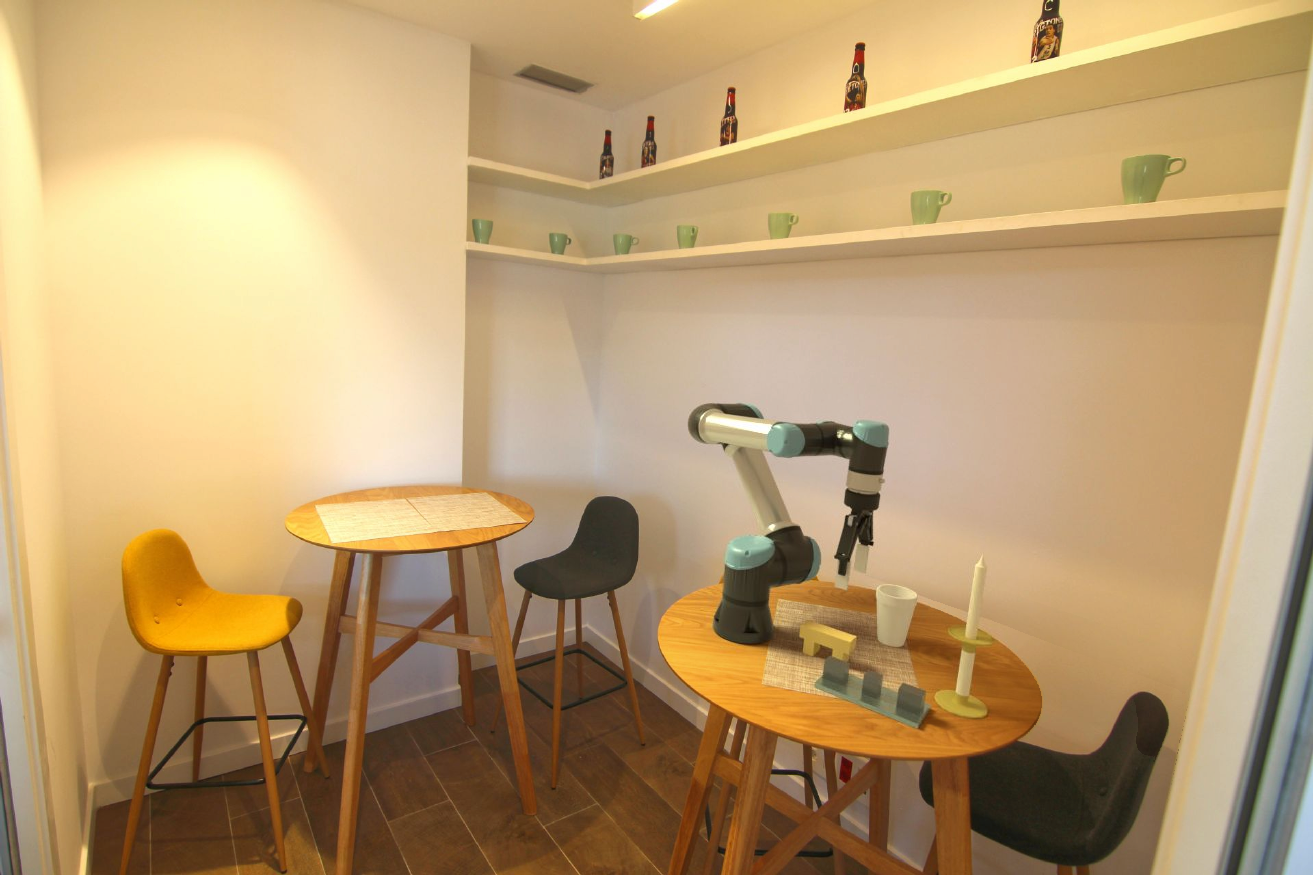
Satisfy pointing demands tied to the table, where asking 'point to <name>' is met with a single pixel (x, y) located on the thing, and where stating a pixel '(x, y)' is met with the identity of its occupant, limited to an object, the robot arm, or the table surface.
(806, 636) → the yellow arch-shaped block
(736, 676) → the table surface
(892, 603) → the foam cup
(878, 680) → the rail
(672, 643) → the table surface
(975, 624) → the candle
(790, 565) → the robot arm
